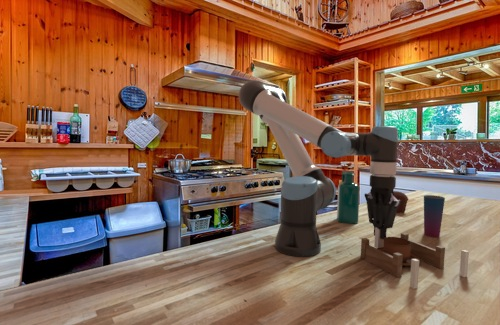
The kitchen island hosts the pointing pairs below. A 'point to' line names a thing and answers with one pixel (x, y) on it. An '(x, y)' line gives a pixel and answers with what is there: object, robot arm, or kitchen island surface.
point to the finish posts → (416, 268)
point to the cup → (433, 215)
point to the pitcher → (348, 199)
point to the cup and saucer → (399, 249)
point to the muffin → (403, 199)
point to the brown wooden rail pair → (401, 256)
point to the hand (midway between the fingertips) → (379, 247)
